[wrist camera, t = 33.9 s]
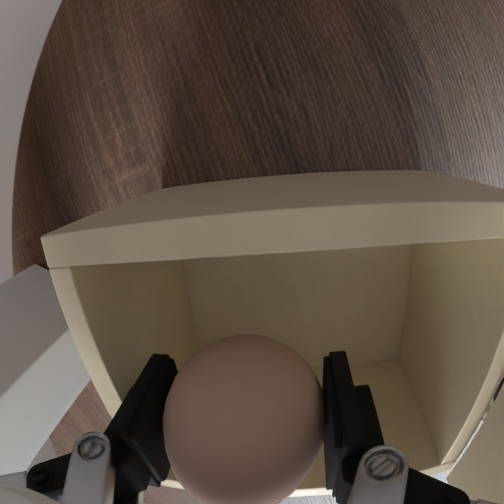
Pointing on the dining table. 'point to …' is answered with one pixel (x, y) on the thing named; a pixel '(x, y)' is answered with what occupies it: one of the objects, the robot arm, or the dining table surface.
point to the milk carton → (34, 366)
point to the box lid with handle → (484, 459)
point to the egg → (244, 421)
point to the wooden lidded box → (304, 290)
